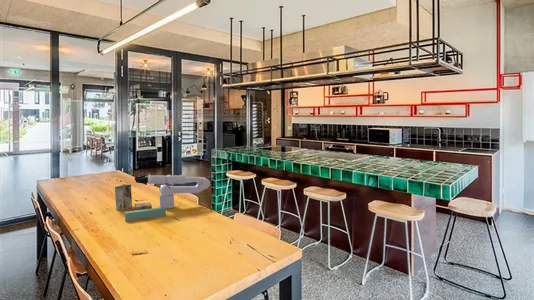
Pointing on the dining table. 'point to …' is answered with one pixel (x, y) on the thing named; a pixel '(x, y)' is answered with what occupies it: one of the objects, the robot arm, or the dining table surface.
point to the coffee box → (123, 197)
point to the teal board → (145, 214)
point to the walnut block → (143, 206)
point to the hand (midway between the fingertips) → (135, 179)
